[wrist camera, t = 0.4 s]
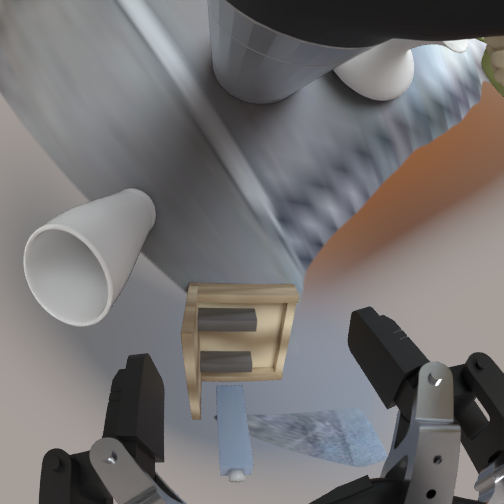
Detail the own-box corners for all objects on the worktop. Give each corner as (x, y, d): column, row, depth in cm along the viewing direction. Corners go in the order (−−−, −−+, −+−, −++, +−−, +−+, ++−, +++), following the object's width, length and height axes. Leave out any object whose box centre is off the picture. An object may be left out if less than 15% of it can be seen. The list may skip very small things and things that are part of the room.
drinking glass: (98, 190, 25) (7, 239, 11) (155, 172, 25) (87, 208, 11) (115, 248, 27) (50, 332, 14) (171, 235, 28) (131, 323, 14)
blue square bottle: (216, 385, 37) (220, 476, 23) (242, 385, 38) (254, 474, 23) (216, 400, 39) (221, 484, 24) (241, 399, 39) (252, 483, 25)
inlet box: (189, 282, 30) (180, 333, 22) (293, 284, 32) (317, 332, 23) (194, 368, 35) (192, 419, 27) (278, 367, 37) (291, 416, 29)
